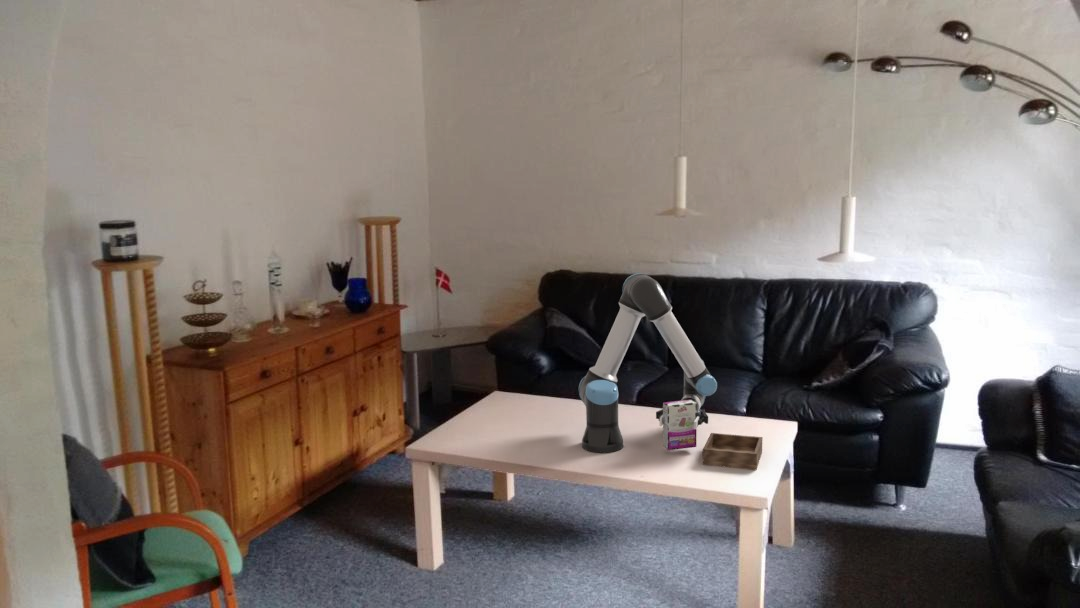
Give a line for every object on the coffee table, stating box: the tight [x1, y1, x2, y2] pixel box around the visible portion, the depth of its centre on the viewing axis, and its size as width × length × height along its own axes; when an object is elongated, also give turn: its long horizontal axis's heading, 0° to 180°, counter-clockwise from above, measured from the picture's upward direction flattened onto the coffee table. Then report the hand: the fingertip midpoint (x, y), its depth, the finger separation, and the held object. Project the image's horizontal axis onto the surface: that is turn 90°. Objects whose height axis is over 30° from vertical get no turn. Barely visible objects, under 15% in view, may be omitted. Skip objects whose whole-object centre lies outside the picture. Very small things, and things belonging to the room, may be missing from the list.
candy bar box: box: [662, 400, 697, 451], centre depth 306 cm, size 11×5×16 cm, turn 105°
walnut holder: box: [702, 432, 763, 471], centre depth 300 cm, size 18×18×6 cm
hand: (677, 423), depth 302 cm, fingers closed on candy bar box, 11 cm apart
